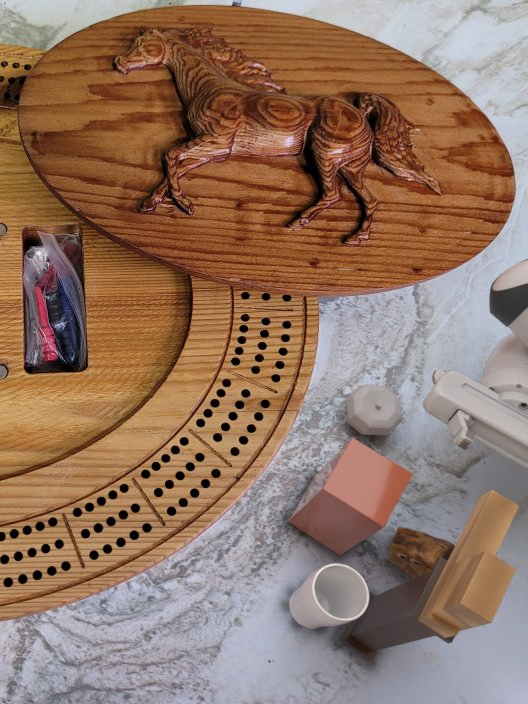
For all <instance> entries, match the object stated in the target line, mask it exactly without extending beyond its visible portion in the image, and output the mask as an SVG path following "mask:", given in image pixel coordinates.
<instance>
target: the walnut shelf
mask: <svg viewBox="0 0 528 704" xmlns="http://www.w3.org/2000/svg"><path fill="white" fill-rule="evenodd" d="M446 563H447V560H446V559H444V558H442V557H439V558H437V560H436V562H435V564H434V566H433V568H432V570H431V572H429V573H426V574H424V575H422V576H419V577H417V578H415V579H413V578H412V579H410V580H408V581H405V582H404V583H401V584H399V585H396V586H393V587H392V588H390V589H387V590H385V591H382V592H380V593H378V594H375V595H374V594H373V593H371V592H370V591H369V604H368V607H367V609H366V611H365V612H364V613H363V614H362V615H361V616H360V617H359V618H357V619H355V620H353V621H351V622H349V623H347V624H345V626H344V628H343V630H342V632H341V633H340V635H339V638H338V640H339V641H340V642H341V643H343V644H344V645H346V646H347V647H349V648H350V649H352V650H353V651H354V652H356V653H358V655H361V656H362V657H363V658H365V659H366V660H368V661H369V662H371V661H374V659H375V657H376V655H377V653H378V651H380V650H385V649H388V648H393V647H396V646H401V645H404V644H409V643H414V642H417V641H420V640H421V641H422V640H424V639H428V638H433V637H438V638H439V639H441V640H442V641H443V642H444V643H446V644H452V643H453V641H454V639H455V638H456V636H452V637H447V638H444V637H443V636H441V635H440V634H438V633H437V632H435V631H433V630H432V629H430V628H429V627H427V626H426V625H424V624H423V623H421V622H420V621H418V619H419V617H420V615H421V613H422V611H423V609H424V607H425V605H426V603H427V601H428V599H429V597H430V595H431V593H432V591H433V589H434V587H435V585H436V583H437V581H438V579H439V577H440V575H441V573H442V571H443V569H444V567H445V565H446Z"/></svg>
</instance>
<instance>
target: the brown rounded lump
mask: <svg viewBox="0 0 528 704" xmlns="http://www.w3.org/2000/svg"><path fill="white" fill-rule="evenodd" d="M455 545H456V544H455V543H452V542H451V541H448V540H447V539H443V538H439V537H436V536H434V535H431V534H429V533H427V532H424V531H420V530H416V529H412V528H408V527H402V526H398V527H397V529H396V532H395V533H394V536H393V539H392V540H391V542H390V545H389V556H390V557H389V562H390V563H392V564H393V565H395V566H396V567H398V568H399V569H400V570H401V571H402V572H404V573H405V574H406V575H407V576H409V577H410V578H412V579H415V578H417V577H419V576H422V575H424V574H426V573H429V572H431V570H432V568H433V566H434V564H435V562H436V560H437V558H439V557H442V558H444V559H446V560H447V561H448V559H449V557H450V555H451V553H452V551H453V549H454V547H455Z"/></svg>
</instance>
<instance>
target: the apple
mask: <svg viewBox="0 0 528 704" xmlns="http://www.w3.org/2000/svg"><path fill="white" fill-rule="evenodd" d="M345 410H346V419H347V424H349V426H351V427H352V428H354V429H355V430H356V431H357V432H358V433H359V434H360V435H362V436H388V435H389V434H390V433H391V432H392V431H393V430H394V429H396V427H398V426H399V425H400V423H402V421H403V411H402V404H401V398H400V397H399V396H398V395H397V394H395V393H394V392H393V391H392V390H391V389H389V388H388V387H387V386H386V385H383V384H382V385H381V384H363V385H360V386H358V387H357V388H356V389H355V390H354V391H353V392H352V393H351V394H350V395H349V396H348V397H346V402H345Z"/></svg>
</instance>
